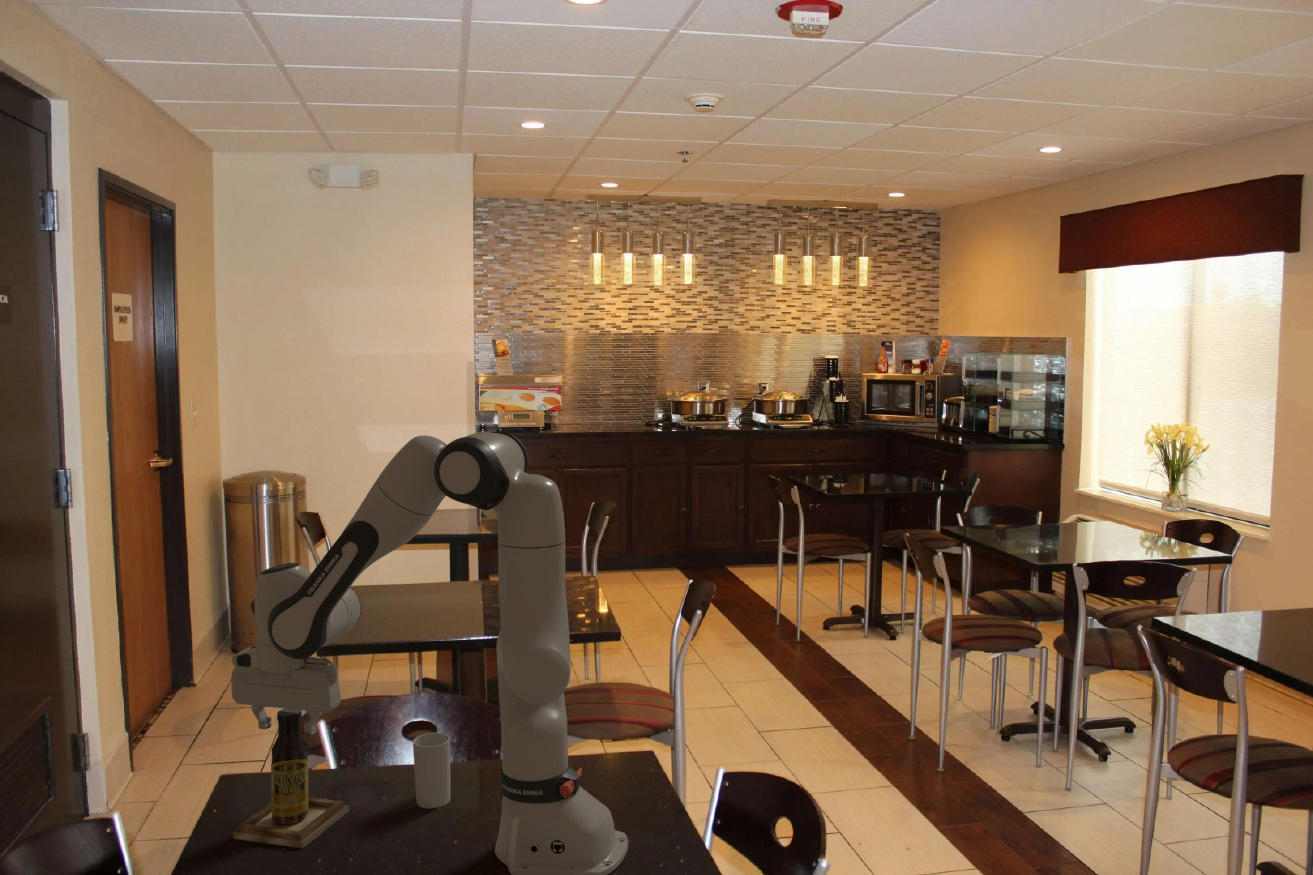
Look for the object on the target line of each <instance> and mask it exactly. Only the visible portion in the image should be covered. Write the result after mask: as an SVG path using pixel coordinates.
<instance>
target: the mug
mask: <svg viewBox="0 0 1313 875" xmlns="http://www.w3.org/2000/svg"><path fill="white" fill-rule="evenodd" d="M412 743H413V744H412V745H413V746H412V750H413V751H412V752H413V754H412V755H413V765H414V783H415V798H416V800H415V801H416V804H417V806H418V807H420V808H423V809H428V810H429V809H438V808H442V807H444V806H446V805H447V804H449V803H450V801H451V782H452V781H451V737H450V735H449V734H446V733H442V732H428V733H424V734H420V735H418V736H416V737H415V738H413V740H412Z"/></svg>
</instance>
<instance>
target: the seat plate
mask: <svg viewBox="0 0 1313 875" xmlns="http://www.w3.org/2000/svg"><path fill="white" fill-rule="evenodd" d="M349 806H350V805H346V804H345V801H343V800H334V799H327V798H320V797H319V798H318V797H311V796H308V814H307V816H306V817H305V819H304V820H303V821H300V822H297V823H294V824H291V825H281V824H277V823H274V822H273V819H272V812H271V802H270V803H268V804H267V805H265V806H264V807H262V809H260V810H259V811H257V812H255V813H254V814H252V815H251V816H250V817H249V818H248V817H247V819H245V820H244V821H243V822H241V823H240V824H238V825H237V826H236V830H235V831H233V832H232V839H235V840H241V841H248V842H254V843H255V842H256V843H262V844H267V845H268V844H269V845H276V846H283V847H289V848H296V849H297V848H298V849H304V848H305V847H306V846H308V845H309V844H310V843H311V842H313V841H314V840H315V839H316V838H318V836H320V835H321V834H322V833H324V832H325V831H326V830H328V828H330V827H331V826H332V825H334V824H335V823H336V822H338V820H340V819H341V818H342V817H344V816H345V815H346V814H347V813H349V812H350V811H349V810H350V807H349ZM345 813H346V814H345ZM344 814H345V815H344Z"/></svg>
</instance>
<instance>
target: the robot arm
mask: <svg viewBox="0 0 1313 875" xmlns="http://www.w3.org/2000/svg"><path fill="white" fill-rule="evenodd" d="M529 466H530V459H529V452H528V451H527V447H526V446H525V445H524V444H523V442H522V441H521V440H520V439H519V438H518V437H517V436H514V435H513V434H511V433H507V432H503V431H490V432H476V433H472V434H469V435H466V436H463V437H458V438H456V439H454V440H452V441H450V442H449V443H446V442H444V441H443V440H442V439H439V438H438V437H435V436H431V435H418V436H415V437H413V438H411V439H410V440H409V441H408V442H406V444H405V445H403V446H402V448H400V450H398V452H397V453H396V454H395V455H394V456H393V457H392V458H391V459H390V461H389V462H388V463H387V465H386V466H385V467H384V469H383V470H382V472H380V474H379V475H378V477H377V478H376V480H375V482H374V483H373V485H371V488H370V489H369V491H368V492H367V494H366V496H364V499H363V501H362V502H361V503H360V505H359V507H358V509H357V510H356V511H355V513H354V514H353V516H352V518H351V519H350V520H349V522H348V523H347V525H346V526H345V527H344V529H343V530H342V532H341V534H340V536H338V538H337V539H336V541H335V542H334V543H333V544H332V546H331V547H330V548H329V550H328V551H327V553H326V554H325V555H324V556H323V557H322V559H321V560H320V561H319V563H318V564H317V566H316V567H315V568H314V570H313V571H312V572H311V571H310V570H308V569H307V568H306V566H304V565H303V564H302V563H299V562H297V563H296V562H290V563H289V562H288V563H282V564H278V565H276V566H275V565H274V566H272V567H269V568H266V569H264V570H263V571H261V572H260V573H259V574H258V576H257V577H256V581H255V584H254V585H255V588H254V618H255V621H256V624H257V629H258V630H257V636H256V644H255V645H252V646H250V647H247V648H245V649H243V650H241V651H239V652H237V653H236V654H234V655H232V657H231V663H232V666H234V668H233V670H232V671H231V678H230V679H231V680H230V681H231V682H230V684H231V685H230V686H231V687H230V689H231V697H232V699H233V701H234V702H235V704H237V705H246V706H251V711H252V714H253V715H254V716H255V719H256V720H257V722H258V723H257V724H258V725H257V726H258V729H259V730H269V729H270V728H271V727H272V725H273V724H272V717H271V716H270V717H269V716H268V714H267V712H266V711H265V708H267V707H268V708H277V709H296V710H301V711H306V712H308V717H311V718H310V720H309V721H308V722H307V723H305V724H303V727H304V734H306V735H314V734H316V733H317V732H318V722H319V720H320V719H321V717H322V715H323V713H329V712H332V711H333V710H335V709H336V708H337V707H339V705H340V703H341V701H342V699H341V698H342V697H341V690H340V688H341V687H340V684H339V678H338V668H337V666H336V664H335V663H334V662H332V661H331V660H330V659H329V658H327V657H321V658H320V657H313V655H315V654H316V653H317V652H318V651H320V650H321V649H322V648H323V647H326V646H327V645H329V644H330V643H332V642H334V641H336V640H338V639H339V638H340V637H341V636H344V635H345V634H347V633H348V632H349V631H351V630H352V629H354V628H355V627H356V626H357V624H358V623H359V621H360V619H361V616H362V615H361V614H362V604H361V601H360V598H359V596H358V594H357V592H356V591H355V590H354V589H353V588H352V585H353V584H354V583H355V581H356V580H357V579H358V577H359V576H360V575H362V574H363V572H364V571H366V569H368V568H369V567H370V566H372V565H373V564H375V562H377V561H379V560H380V559H381V558H384V557H385V556H387V555H388V554H390V553H392V552H393V551H396V550H397V549H400V548H401V547H403V546H404V545H406V544H407V543H408V542H410V541H412V539H413V538H414V537H415V536H417V534H418V533H419V532H420V531H422V529H423V528H424V527H425V526H426V525H427V523H428V522H429V521H430V520H431V518H432V516H433V515H434V513H435V512H436V511H437V509H438V507H439V506H440V504H441V503H442V502H443V500H444V499H445V498H446V497H447V498H449V499H451V500H453V501H455V502H458V503H462V504H464V505H465V504H466V505H469V506H471V507H474V508H477V509H480V510H482V511H490V510H492V509H493V512H495V515H496V519H497V545H498V546H497V554H498V555H497V556H498V558H497V561H498V562H497V563H498V564H497V567H498V568H497V572H498V574H497V575H498V580H497V582H498V599H499V600H498V601H499V613H500V614H499V615H500V616H499V617H500V631H499V632H498V637H497V640H496V663H497V667H496V668H497V680H498V681H497V683H498V698H499V711H500V712H499V713H500V714H499V715H500V726H501V727H500V729H501V730H500V731H501V758H502V759H501V762H502V763H501V764H502V765H501V767H500V769H499V770H500V771H499V791H500V794H499V795H500V799H501V800H502V802H501V805H502V806H501V815H500V824H499V831H498V835H497V840H496V844H495V847H494V853H495V856H496V857H497V859H498V860H499V861H500V862H502V863H503V864H505V866H507V869H508V872H509V873H510V874H511V875H608V874H610V873H612V872H613V871H614V870H616V869H617V867H619V866H620V864H621V863H622V862H623V860H624V858H625V857H626V854H628V853H627V852H628V849H629V841H628V836H627V834H626V833H625V832H624V831H623V832H622V831H620V830H616V828H615V823H614V820H613V816H612V812H611V810H610V808H608V806H606V805H605V804H604V803H602V801H601V802H600V801H599V799H597V798H595V797H594V796H593V795H591V794H590V793H589V792H588V791H587V790H585V789H584V788H583V787H581V786H580V777H581V776H582V774H583V772H582V767H579V769H578V770H577V771H576V770H574V768H573V767H572V765H571V764H570V762H569V752H568V751H569V745H568V743H569V742H568V741H569V740H568V718H567V716H568V715H567V709H566V700H565V691H566V689H567V688H568V685H569V682H570V678H571V669H572V667H571V666H572V665H571V664H572V661H571V659H572V658H571V642H570V641H571V640H570V625H569V624H570V623H569V614H568V613H569V612H568V602H567V591H566V590H567V589H566V588H567V587H566V526H565V516H564V510H563V509H564V508H563V502H562V498H561V492H560V489H559V487H558V485H557V483H556V482H555V481H553V479H551V478H549V477H546V476H545V475H541V474H534V473H532V474H531V473H528V470H529Z"/></svg>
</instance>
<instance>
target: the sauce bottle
mask: <svg viewBox="0 0 1313 875" xmlns="http://www.w3.org/2000/svg"><path fill="white" fill-rule="evenodd" d="M301 719H302V710H296V709H285V708H281V709H279V710H278V711H277V712H276V720H277V726H278V732H277V738H276V739H275V742H274V743H273V745H272V747H271V763H270V773H271V774H270V775H271V776H270V778H271V779H270V781H271V782H270V783H271V784H270V787H271V788H270V789H271V790H270V791H271V792H270V793H271V794H270V796H271V799H270V800H271V802H270V803H271V812H272V819H273V822H274V823H277V824H281V825H291V824H294V823H297V822H300V821H303V820H304V819H305V817H306V816H307V814H308V797H309V759H308V743H307V741H306V740H305V739H304V738H303V736H302V729H301Z"/></svg>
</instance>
